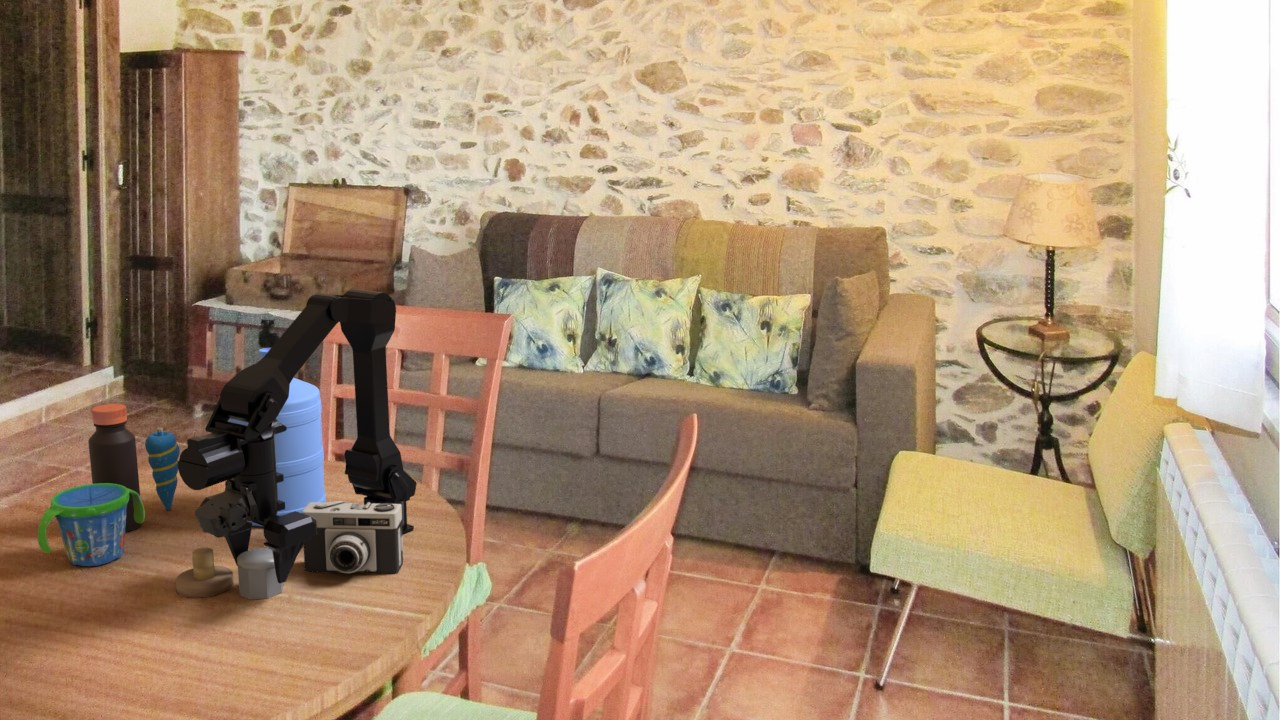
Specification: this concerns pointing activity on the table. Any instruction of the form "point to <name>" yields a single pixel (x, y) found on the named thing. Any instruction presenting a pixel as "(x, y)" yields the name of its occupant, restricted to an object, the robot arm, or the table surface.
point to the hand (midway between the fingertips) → (261, 574)
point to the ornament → (163, 464)
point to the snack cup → (91, 522)
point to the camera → (355, 538)
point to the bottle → (114, 454)
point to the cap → (258, 574)
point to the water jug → (299, 447)
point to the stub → (204, 576)
